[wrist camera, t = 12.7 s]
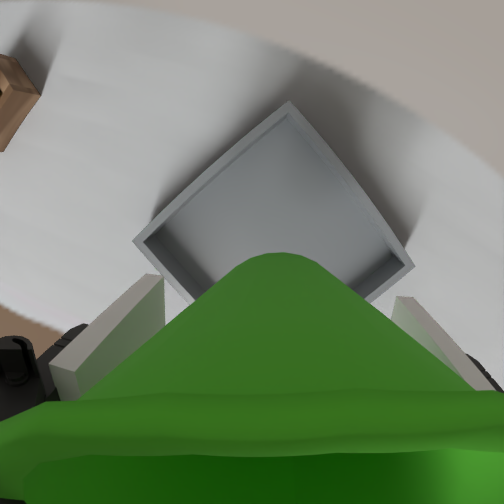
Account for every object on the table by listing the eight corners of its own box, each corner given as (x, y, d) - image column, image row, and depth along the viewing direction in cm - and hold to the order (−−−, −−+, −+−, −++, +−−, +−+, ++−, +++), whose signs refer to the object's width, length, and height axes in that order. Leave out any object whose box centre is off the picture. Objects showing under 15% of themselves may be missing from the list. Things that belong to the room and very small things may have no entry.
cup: (373, 181, 12) (656, 263, 1) (386, 378, 14) (464, 582, 3) (147, 223, 13) (-102, 370, 2) (202, 404, 15) (141, 608, 4)
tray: (147, 232, 25) (131, 241, 22) (287, 108, 22) (289, 100, 19) (263, 357, 27) (262, 378, 24) (400, 255, 24) (415, 266, 21)
